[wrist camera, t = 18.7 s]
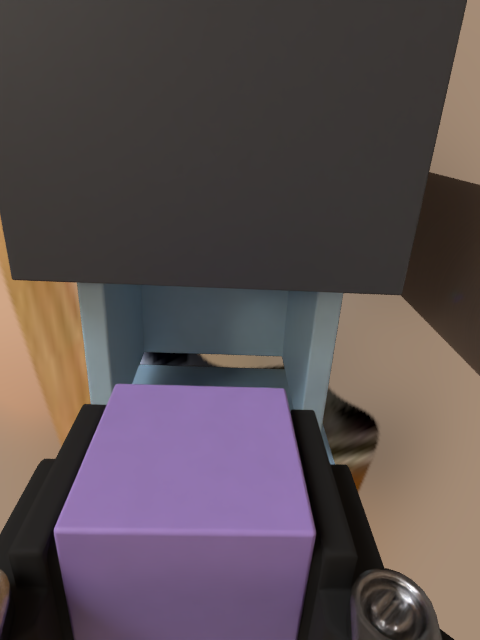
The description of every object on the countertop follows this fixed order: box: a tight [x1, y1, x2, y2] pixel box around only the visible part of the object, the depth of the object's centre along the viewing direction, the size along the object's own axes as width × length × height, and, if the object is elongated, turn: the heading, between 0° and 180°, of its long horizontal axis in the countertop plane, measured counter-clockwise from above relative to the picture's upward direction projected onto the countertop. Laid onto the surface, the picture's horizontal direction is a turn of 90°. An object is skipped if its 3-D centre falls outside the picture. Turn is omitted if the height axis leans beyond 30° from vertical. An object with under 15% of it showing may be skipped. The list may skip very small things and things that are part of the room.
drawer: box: [77, 282, 343, 464], centre depth 18 cm, size 15×9×7 cm, turn 177°
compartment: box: [0, 0, 467, 295], centre depth 13 cm, size 12×11×9 cm
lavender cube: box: [54, 384, 316, 640], centre depth 9 cm, size 4×4×4 cm
